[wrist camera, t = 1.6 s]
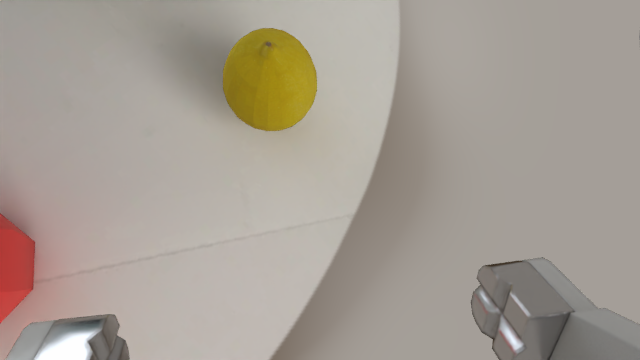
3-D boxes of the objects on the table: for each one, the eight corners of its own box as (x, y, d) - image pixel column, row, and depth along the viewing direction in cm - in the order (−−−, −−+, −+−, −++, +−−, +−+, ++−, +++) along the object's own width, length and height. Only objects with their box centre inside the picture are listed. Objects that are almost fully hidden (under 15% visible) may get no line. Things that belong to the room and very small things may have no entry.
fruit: (325, 102, 28) (344, 31, 20) (282, 164, 26) (286, 112, 18) (260, 62, 28) (254, -24, 20) (213, 121, 26) (188, 52, 19)
